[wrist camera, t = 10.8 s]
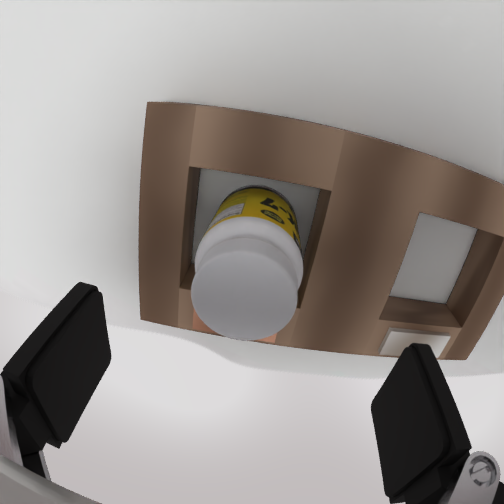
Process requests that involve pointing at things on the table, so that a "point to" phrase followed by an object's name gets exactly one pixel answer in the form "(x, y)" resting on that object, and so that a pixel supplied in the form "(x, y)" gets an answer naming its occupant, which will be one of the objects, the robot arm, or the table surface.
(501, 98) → the table surface
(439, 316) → the socket block
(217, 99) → the table surface
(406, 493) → the robot arm
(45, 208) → the table surface
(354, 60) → the table surface
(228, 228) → the supplement bottle
